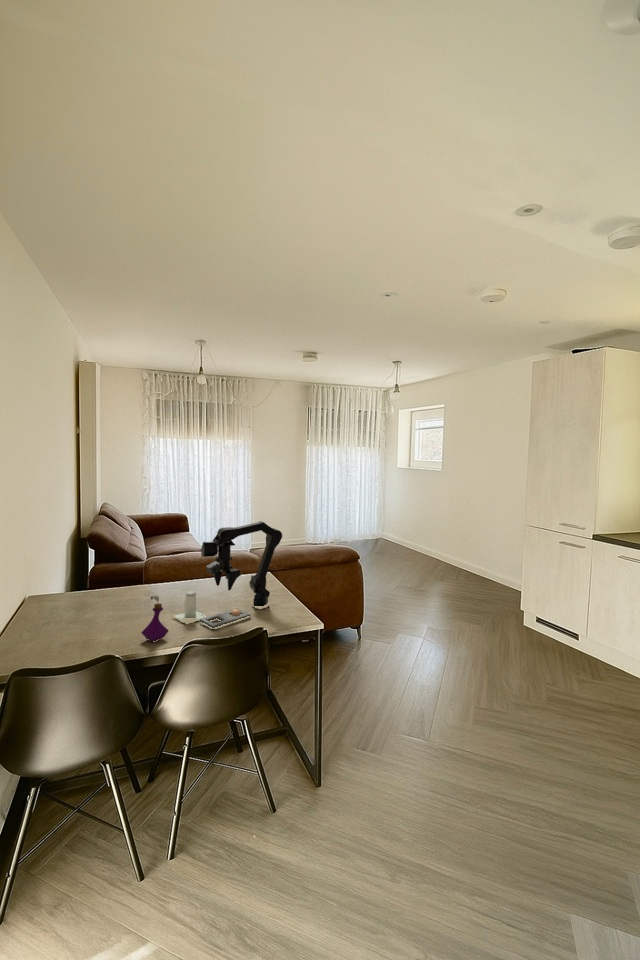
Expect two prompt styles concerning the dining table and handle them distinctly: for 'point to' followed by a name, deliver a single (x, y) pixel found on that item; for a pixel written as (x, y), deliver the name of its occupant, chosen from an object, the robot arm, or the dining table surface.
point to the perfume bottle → (155, 624)
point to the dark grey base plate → (223, 618)
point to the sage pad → (198, 616)
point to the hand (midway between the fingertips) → (223, 587)
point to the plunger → (235, 612)
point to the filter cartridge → (190, 604)
